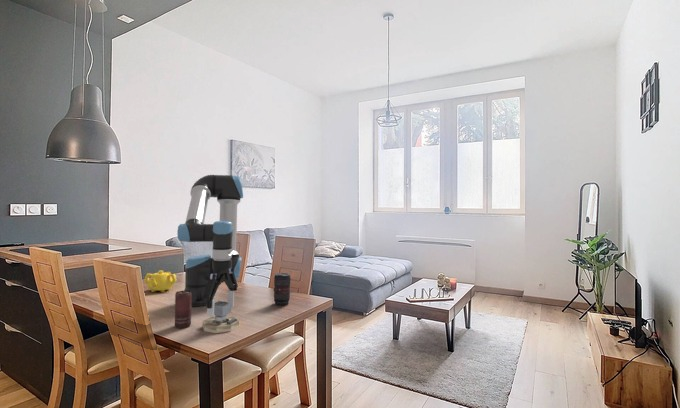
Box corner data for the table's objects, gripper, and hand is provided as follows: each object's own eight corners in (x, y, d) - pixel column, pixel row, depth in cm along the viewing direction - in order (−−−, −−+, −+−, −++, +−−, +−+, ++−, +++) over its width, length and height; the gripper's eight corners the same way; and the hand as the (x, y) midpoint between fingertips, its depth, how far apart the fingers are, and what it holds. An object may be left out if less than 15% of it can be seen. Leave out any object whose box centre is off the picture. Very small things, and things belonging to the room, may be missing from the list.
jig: (195, 330, 143) (196, 322, 143) (216, 319, 156) (216, 312, 156) (225, 334, 139) (225, 326, 139) (244, 323, 152) (244, 315, 152)
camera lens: (286, 306, 176) (287, 276, 176) (271, 305, 178) (271, 275, 178) (292, 302, 184) (292, 273, 184) (277, 301, 186) (277, 272, 186)
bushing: (209, 327, 145) (209, 304, 145) (218, 322, 151) (219, 301, 151) (222, 329, 143) (222, 306, 143) (231, 324, 149) (231, 302, 149)
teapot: (167, 295, 191) (168, 274, 191) (134, 294, 192) (134, 273, 191) (184, 286, 211) (184, 267, 211) (154, 286, 212) (154, 267, 211)
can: (177, 323, 150) (177, 289, 150) (192, 323, 150) (193, 289, 150) (171, 328, 144) (172, 293, 143) (188, 328, 144) (188, 293, 144)
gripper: (210, 265, 134) (209, 321, 135) (246, 255, 158) (245, 303, 158) (193, 263, 136) (192, 319, 137) (231, 254, 160) (230, 301, 161)
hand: (221, 310), depth 148 cm, fingers open, 13 cm apart
